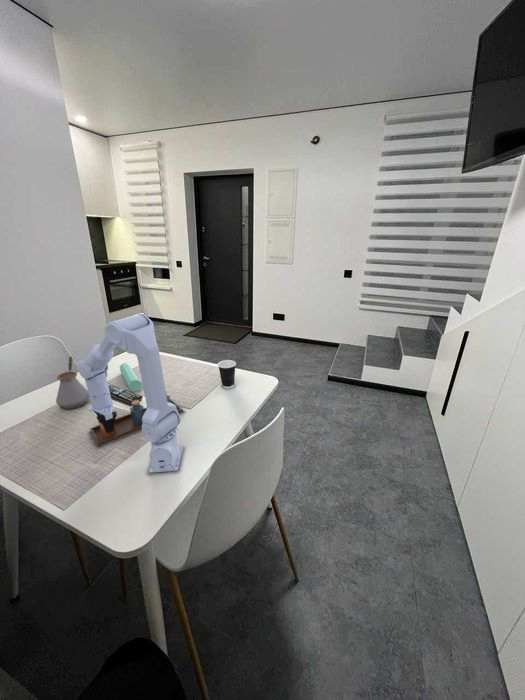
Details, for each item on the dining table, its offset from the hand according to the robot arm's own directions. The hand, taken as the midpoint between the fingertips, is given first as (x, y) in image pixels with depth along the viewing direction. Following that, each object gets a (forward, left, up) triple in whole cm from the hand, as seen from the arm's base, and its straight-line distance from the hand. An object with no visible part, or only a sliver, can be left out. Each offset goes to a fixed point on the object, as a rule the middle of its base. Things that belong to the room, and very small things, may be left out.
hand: (108, 427), depth 96 cm
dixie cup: (+29, -40, -3) cm, 49 cm away
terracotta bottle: (0, 0, -2) cm, 2 cm away
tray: (+6, -8, -3) cm, 10 cm away
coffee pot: (+26, +23, -3) cm, 35 cm away
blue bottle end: (+12, -16, -2) cm, 20 cm away
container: (+39, +5, -3) cm, 40 cm away
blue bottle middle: (+6, -8, -2) cm, 10 cm away
